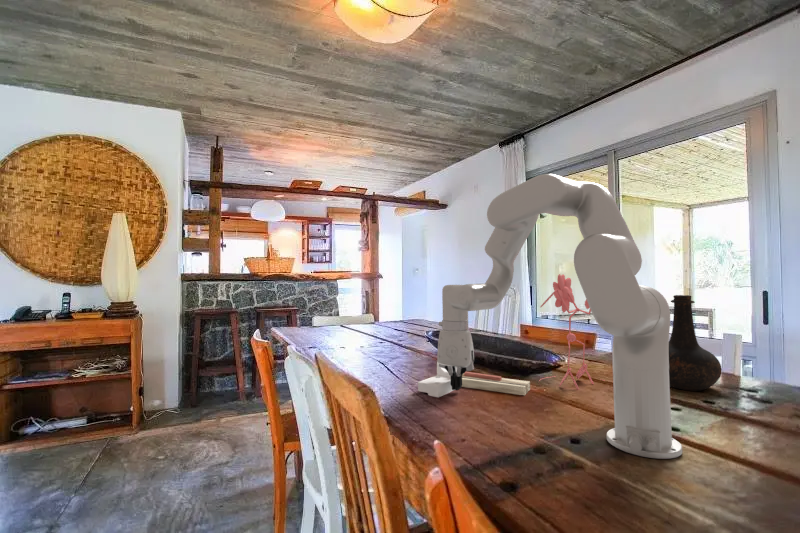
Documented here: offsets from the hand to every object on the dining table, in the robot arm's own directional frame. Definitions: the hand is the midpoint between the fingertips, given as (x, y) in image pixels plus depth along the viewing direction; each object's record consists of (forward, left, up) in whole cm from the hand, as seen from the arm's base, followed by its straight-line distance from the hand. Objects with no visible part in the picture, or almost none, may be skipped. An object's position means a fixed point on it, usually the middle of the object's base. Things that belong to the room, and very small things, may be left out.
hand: (456, 388), depth 112 cm
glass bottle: (+40, -58, -2) cm, 70 cm away
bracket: (+1, +6, -2) cm, 6 cm away
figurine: (+28, -26, -2) cm, 38 cm away
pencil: (+12, -4, +1) cm, 13 cm away
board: (+11, -6, -1) cm, 13 cm away
